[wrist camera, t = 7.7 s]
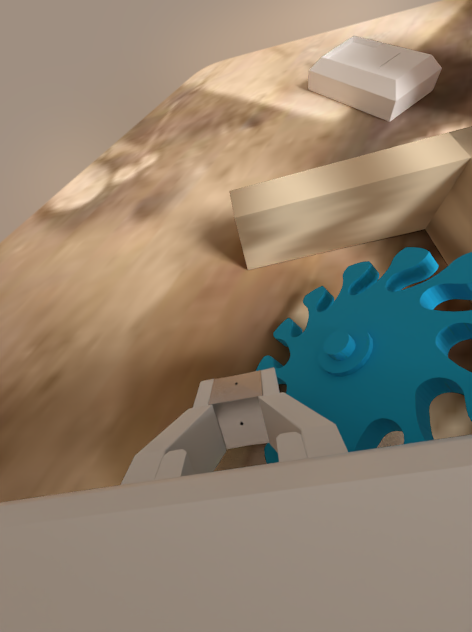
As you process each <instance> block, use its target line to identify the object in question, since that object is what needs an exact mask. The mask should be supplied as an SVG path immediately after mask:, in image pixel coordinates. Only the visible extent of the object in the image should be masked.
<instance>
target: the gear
mask: <svg viewBox="0 0 472 632" xmlns="http://www.w3.org/2000/svg"><path fill="white" fill-rule="evenodd" d="M438 267H439V265H438V264H437V262H436V261H435V259H434V258H433V256H432V255H431V254H430V252H429V251H428V250H426V249H423V248H417V247H406V248H404V249H403V250H401V251H400V252H399V253H398V254H397V255H396V256H395V257H394V258H393V260H392V263H391V265H390V267H389V268H388V270H387V271H386V272H385V274H384V275H383V276H382V277H381V278H380V279H379V280H378V278H379V273H378V272H377V270H376V269H375V268H374V267H373V265H372V264H371V263H370V262H369V261H368V262H360V263H357V264H354V265H351V266H348V268H347V269H346V270H345V271H344V273H343V286H342V289H341V291H340V293H339V295H338V297H337V298H336V300H335V301H334V297H333V296H332V295H331V294H330V293H329V292H328V291H327V290H326V289H325V288H324V287H323V286H321V287H318V288H317V289H315V290H313V291H312V292H310V293H309V294H307V295H306V296H305V297H304V300H303V303H304V305H305V306H306V307H307V308H308V311H309V318H308V323H307V327H306V329H305V331H304V332H303V333H302V329H301V328H300V327H299V326H298V325H297V324H296V323H295V322H294V321H293V320H291V319H290V318H287V319H286V320H285V321H284V322H282V323H281V324H280V326H279V327H278V328H277V329H276V330H275V331H274V333H273V335H274V337H275V338H276V339H277V340H278V341H279V342H281V343H282V344H283V345H284V346H286V347H289V350H290V359H289V361H288V362H287V363H286V364H285V365H284V366H283V365H282V364H280V363H279V362H278V361H276V360H275V359H274V358H272V357H271V356H264V357H263V359H262V360H261V362H260V363H259V365H258V367H257V369H256V371H259V370H260V371H261V370H264V369H269V368H273V367H274V368H275V372H276V376H277V381H278V384H286V385H287V391H286V394H287V395H289V396H291V397H292V398H294V399H296V400H297V401H299V402H300V403H302V404H304V405H305V406H307V407H308V408H310V409H312V410H313V411H315V412H316V413H318V414H320V415H321V416H323V417H325V418H326V419H328V420H329V421H331V422H333V423H334V424H336V426H337V428H338V431H339V433H340V435H341V437H342V439H343V442H344V444H345V446H346V448H347V450H348V452H353V451H360V450H367V449H374V448H377V446H378V445H379V443H380V442H381V440H382V438H383V437H384V436H385V435H386V434H388V433H390V432H392V431H403V434H404V444H409V443H416V442H422V441H429V440H434V439H433V436H432V432H431V426H430V415H429V406H430V404H431V402H432V400H433V399H434V398H435V397H437V396H438V395H440V394H443V393H448V392H454V393H459V394H462V395H464V396H465V402H466V409H467V413H468V416H469V418H470V419H471V421H472V372H469V371H467V370H466V369H464V368H462V367H460V366H458V365H457V364H456V363H454V362H453V361H452V360H450V359H449V358H448V353H449V350H450V349H451V347H452V346H454V345H455V344H456V343H458V342H460V341H463V340H468V339H472V310H469V311H456V312H452V311H438V310H433V309H434V308H435V307H436V306H437V305H438V304H440V303H442V302H444V301H447V300H451V299H463V300H472V252H470V253H467V254H464V255H462V256H460V257H459V258H457V259H456V260H454V261H453V262H452V263H451V264H450V265H449V266H447V267H446V268H445V269H444V270H442V271H441V272H440V273H439V274H437V275H435V276H434V277H432V278H430V279H429V280H427V281H425V282H423V283H420V284H418V285H415V286H413V287H410V288H407V289H404V290H402V289H403V288H404V287H406V286H409V285H411V284H414V283H417V282H420V281H423V280H425V279H427V278H429V277H430V276H432V275H433V274H434V273H435V272H436V271H437V269H438ZM377 280H378V281H377ZM400 290H401V291H400ZM264 451H265V458H266V462H267V464H270V463H277V462H279V457H278V453H277V451H276V450H275V449H274V448H273V447H272V446H271V445H270V443H267V445H266V446H265V448H264Z"/></svg>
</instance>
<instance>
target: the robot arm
mask: <svg viewBox="0 0 472 632" xmlns="http://www.w3.org/2000/svg"><path fill="white" fill-rule="evenodd" d="M263 443H270V445H271V446H272V447H273V448H274V449H275V450H276V451H277V453H278V457H279V462H277V463H270V464H263V465H256V466H249V467H242V468H235V469H228V470H221V471H214V470H215V468H216V466H217V465H218V463H219V462H220V460H221V459H222V457H223V455H224V454H225V452H226V449H230V448H236V447H241V446H247V445H255V444H263ZM213 471H214V472H213ZM0 632H472V434H471V435H464V436H457V437H450V438H443V439H436V440H429V441H422V442H416V443H409V444H402V445H395V446H388V447H381V448H374V449H367V450H360V451H353V452H348V450H347V448H346V446H345V444H344V442H343V439H342V437H341V435H340V433H339V431H338V428H337V426H336V424H334V423H333V422H331V421H329V420H328V419H326V418H325V417H323V416H321V415H320V414H318V413H316V412H315V411H313V410H312V409H310V408H308V407H307V406H305V405H304V404H302V403H300V402H299V401H297V400H296V399H294V398H292V397H291V396H289V395H287V394H286V393H284V392H282V393H280V391H279V386H278V381H277V376H276V372H275V368H274V367H273V368H269V369H264V370H261V371H260V370H259V371H254V372H250V373H245V374H239V375H233V376H227V377H221V378H215V379H209V380H204V381H201V382H200V385H199V388H198V392H197V395H196V398H195V401H194V405H193V408H189V409H188V410H186V411H185V412H184V413H183V414H182V415H181V416H180V417H178V418H177V419H176V420H175V421H174V422H173V423H172V424H170V425H169V426H168V427H167V428H166V429H165V430H164V431H162V432H161V433H160V434H159V435H158V436H157V437H155V438H154V439H153V440H152V441H151V442H150V443H149V444H147V445H146V446H145V447H144V448H143V449H142V450H141V451H139V452H138V453H137V454H136V455H135V456H134V458H133V460H132V462H131V464H130V466H129V468H128V471H127V473H126V475H125V477H124V479H123V481H122V483H121V485H117V486H110V487H103V488H96V489H89V490H82V491H75V492H68V493H61V494H54V495H47V496H41V497H34V498H27V499H20V500H13V501H6V502H0Z"/></svg>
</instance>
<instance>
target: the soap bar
mask: <svg viewBox="0 0 472 632" xmlns="http://www.w3.org/2000/svg"><path fill="white" fill-rule="evenodd" d="M441 69H442V67H441V66H440V65H439V64H438V62H437V61H436V60H435V58H434V57H433V56H432V55H431V54H427V53H423V52H419V51H414V50H410V49H406V48H402V47H398V46H394V45H390V44H386V43H382V42H378V41H374V40H369V39H365V38H361V37H357V36H353V37H351V38H350V39H348V40H347V41H345V42H344V43H342V44H340V45H339V46H337V47H336V48H334V49H333V50H331V51H330V52H328V53H327V54H325V55H324V56H322V57H321V58H320V59H319V60H318V61H317V62H316V63H315V64H314V65H313V66H312V68H311V69H310V70H309V77H308V90H311V91H313V92H316V93H318V94H321V95H323V96H326V97H328V98H331V99H333V100H336V101H338V102H341V103H343V104H346V105H348V106H351V107H353V108H356V109H358V110H361V111H363V112H366V113H368V114H371V115H373V116H376V117H379V118H381V119H384V120H386V121H389V122H390V121H391V120H393V119H394V118H395V117H397V116H398V115H399V114H401V113H402V112H404V111H405V110H406V109H408V108H409V107H411V106H412V105H413V104H415V103H416V102H417V101H419V100H420V99H422V98H423V97H424V96H426V95H427V94H428V93H430V92H431V91H433V89H434V86H435V84H436V81H437V79H438V77H439V74H440V72H441Z"/></svg>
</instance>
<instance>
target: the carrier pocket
mask: <svg viewBox="0 0 472 632" xmlns="http://www.w3.org/2000/svg"><path fill="white" fill-rule="evenodd" d="M230 197H231V202H232V207H233V213H234V218H235V222H236V226H237V230H238V234H239V238H240V241H241V245H242V249H243V253H244V257H245V261H246V265H247V269H248V270H250V269H254V268H259V267H263V266H267V265H272V264H276V263H280V262H285V261H289V260H293V259H298V258H302V257H307V256H311V255H315V254H320V253H324V252H328V251H333V250H337V249H341V248H346V247H350V246H354V245H359V244H363V243H367V242H372V241H376V240H380V239H385V238H389V237H393V236H398V235H402V234H406V233H411V232H415V231H419V230H424V229H425V230H426V231H427V233H428V234H429V236H430V238H431V239H432V241H433V242H434V244H435V246H436V247H437V249H438V250H439V252H440V253H441V255H442V257H443V258H444V260H445V261H446V263H447V265H448V266H449V265H450V264H451V263H452V262H453V261H454V260H456V259H457V258H459V257H460V256H462V255H464V254H467V253H470V252H472V126H471V127H467V128H464V129H460V130H456V131H452V132H449V133H445V134H441V135H437V136H434V137H430V138H426V139H422V140H419V141H415V142H411V143H407V144H404V145H400V146H396V147H393V148H389V149H385V150H381V151H378V152H374V153H370V154H366V155H363V156H359V157H355V158H351V159H348V160H344V161H340V162H336V163H333V164H329V165H325V166H321V167H318V168H314V169H310V170H307V171H303V172H299V173H295V174H292V175H288V176H284V177H280V178H277V179H273V180H269V181H265V182H262V183H258V184H254V185H250V186H247V187H243V188H239V189H235V190H232V191H230ZM470 301H471V302H472V300H470Z"/></svg>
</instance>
